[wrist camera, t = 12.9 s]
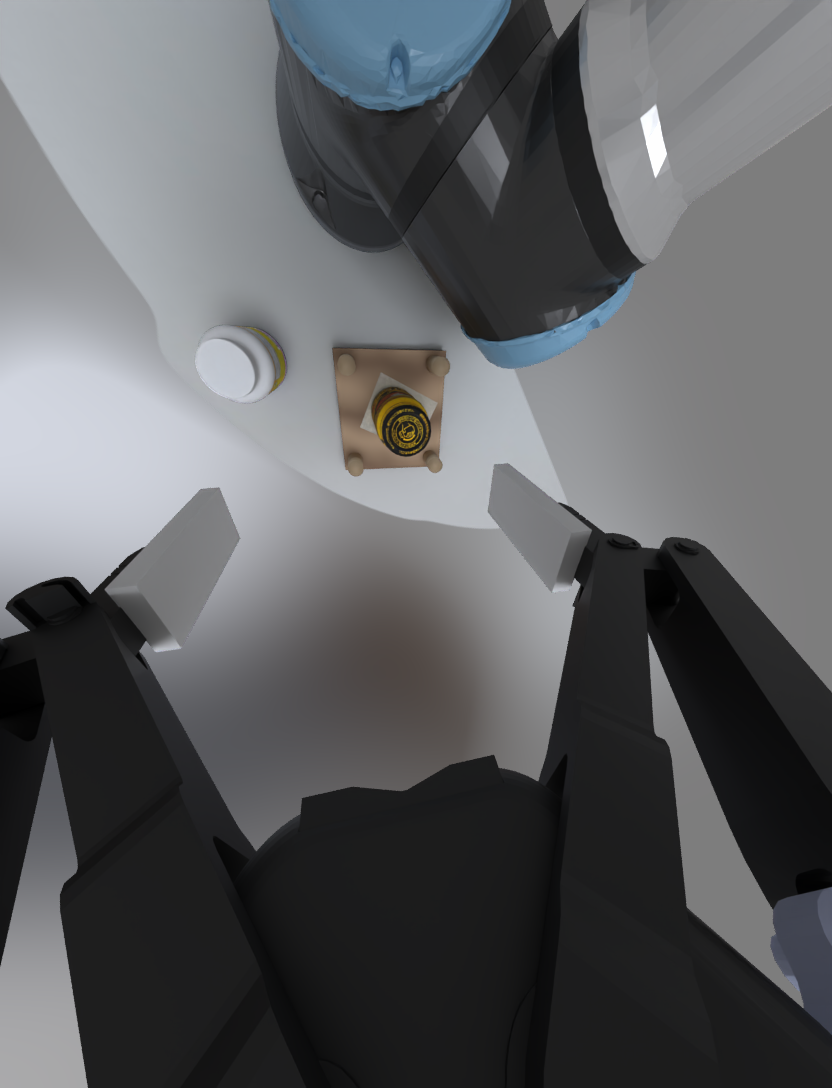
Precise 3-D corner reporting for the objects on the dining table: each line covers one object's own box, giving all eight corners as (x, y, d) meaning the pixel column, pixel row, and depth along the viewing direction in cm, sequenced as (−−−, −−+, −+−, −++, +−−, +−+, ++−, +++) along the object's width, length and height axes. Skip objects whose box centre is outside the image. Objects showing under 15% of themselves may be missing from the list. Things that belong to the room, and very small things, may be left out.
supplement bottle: (238, 391, 38) (198, 411, 28) (219, 327, 35) (164, 322, 24) (293, 390, 39) (274, 409, 29) (281, 327, 36) (253, 323, 25)
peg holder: (333, 347, 38) (331, 349, 33) (442, 350, 40) (455, 352, 35) (345, 465, 46) (345, 480, 41) (435, 461, 48) (445, 475, 44)
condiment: (380, 372, 38) (391, 383, 29) (437, 402, 42) (464, 422, 32) (359, 427, 42) (363, 454, 32) (414, 451, 45) (432, 483, 35)
